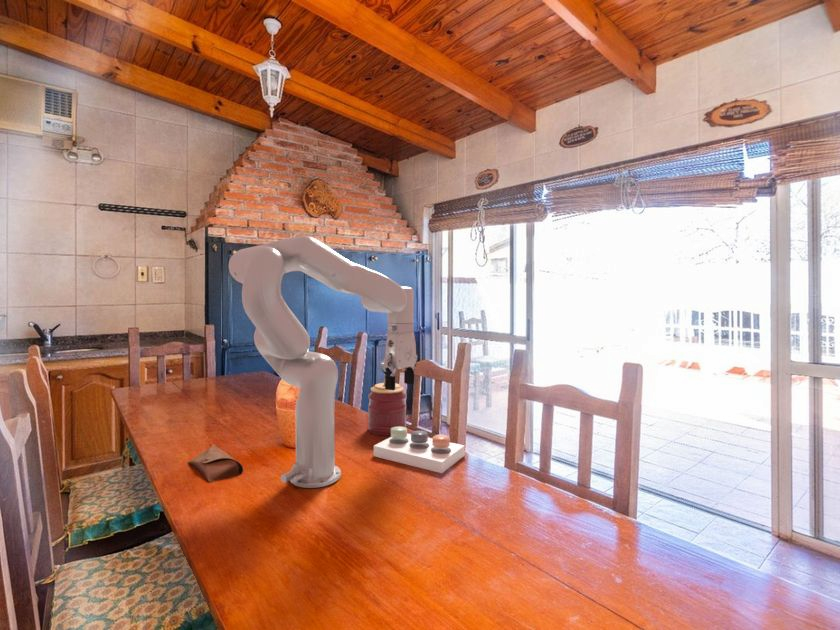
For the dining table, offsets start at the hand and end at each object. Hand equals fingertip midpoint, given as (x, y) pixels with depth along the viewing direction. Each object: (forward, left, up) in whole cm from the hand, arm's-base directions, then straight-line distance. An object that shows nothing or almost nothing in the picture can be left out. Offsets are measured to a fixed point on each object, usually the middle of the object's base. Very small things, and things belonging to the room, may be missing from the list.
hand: (399, 386), depth 128 cm
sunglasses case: (-37, +34, -20) cm, 54 cm away
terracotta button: (-1, -15, -14) cm, 21 cm away
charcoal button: (-1, -8, -14) cm, 16 cm away
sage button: (-1, -1, -14) cm, 14 cm away
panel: (-1, -8, -19) cm, 20 cm away
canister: (+13, +13, -19) cm, 26 cm away
